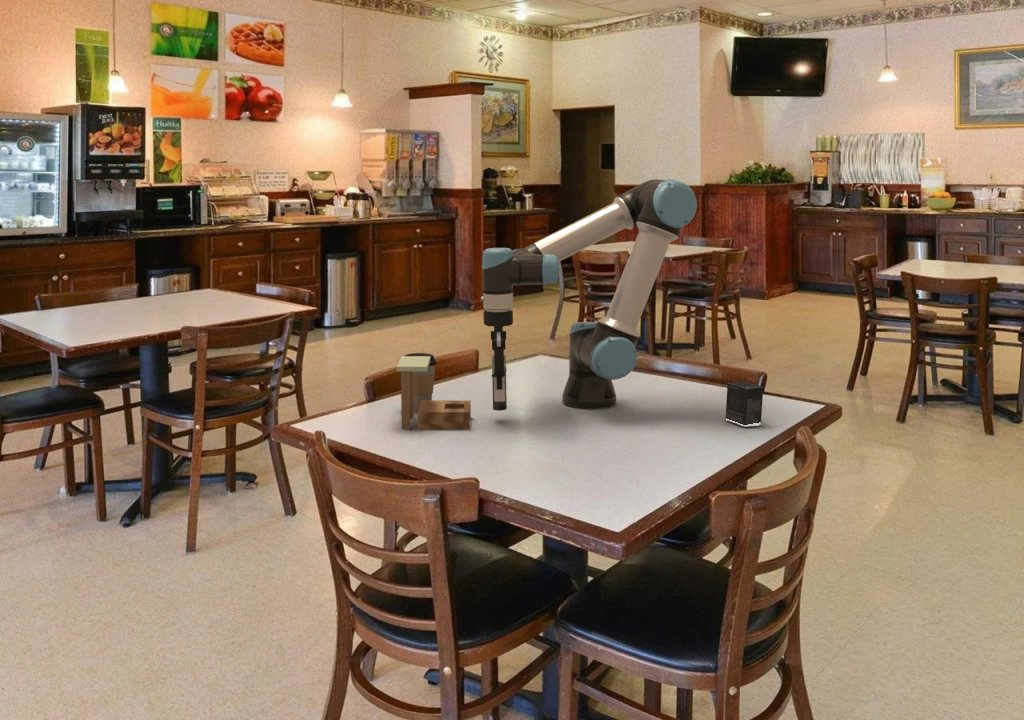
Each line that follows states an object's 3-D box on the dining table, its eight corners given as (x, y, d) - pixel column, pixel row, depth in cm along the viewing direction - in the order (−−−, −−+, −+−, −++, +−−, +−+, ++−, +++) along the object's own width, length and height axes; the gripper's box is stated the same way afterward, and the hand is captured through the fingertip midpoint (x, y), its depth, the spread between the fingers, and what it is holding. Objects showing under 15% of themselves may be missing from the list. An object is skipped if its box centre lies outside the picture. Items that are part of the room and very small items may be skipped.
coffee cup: (431, 415, 248) (430, 360, 245) (397, 413, 250) (396, 358, 247) (440, 406, 257) (440, 353, 254) (408, 404, 259) (407, 351, 256)
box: (761, 426, 241) (764, 386, 239) (743, 428, 239) (746, 388, 237) (741, 418, 248) (744, 380, 246) (724, 421, 246) (726, 381, 244)
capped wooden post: (430, 416, 247) (430, 356, 244) (427, 429, 235) (426, 366, 231) (402, 416, 247) (401, 356, 244) (397, 429, 234) (396, 366, 231)
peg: (506, 406, 245) (505, 354, 242) (506, 410, 241) (505, 357, 238) (492, 407, 244) (491, 354, 242) (492, 410, 241) (491, 357, 238)
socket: (470, 417, 247) (470, 400, 246) (469, 429, 235) (469, 412, 234) (421, 416, 247) (421, 400, 246) (417, 429, 235) (417, 412, 234)
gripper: (483, 304, 245) (485, 391, 250) (482, 315, 229) (484, 407, 234) (512, 304, 246) (513, 391, 250) (513, 314, 229) (514, 407, 234)
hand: (499, 398), depth 242 cm, fingers closed on peg, 3 cm apart
